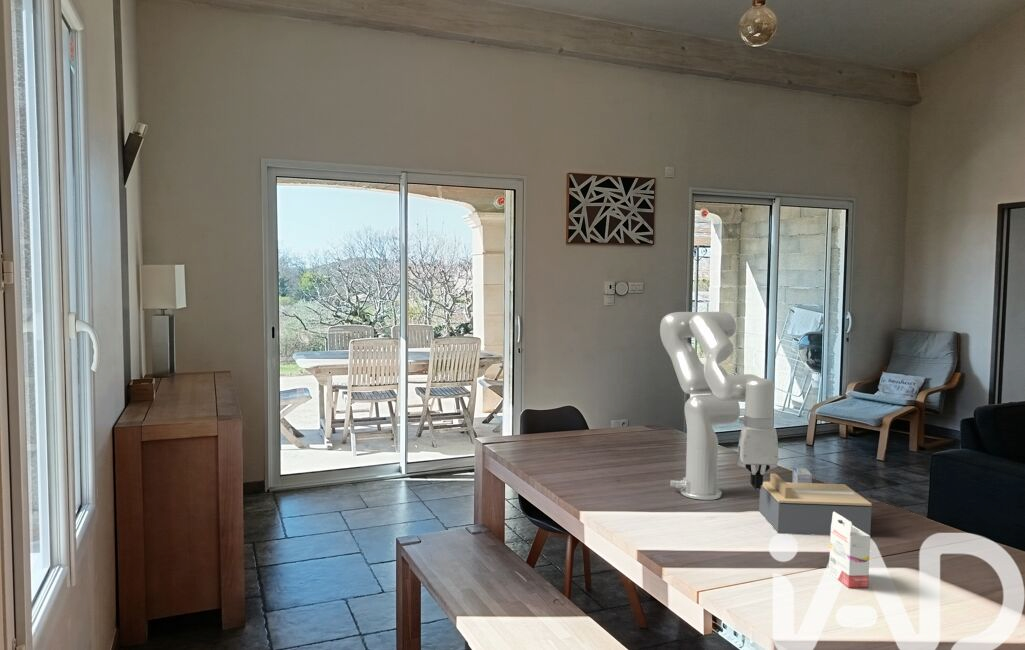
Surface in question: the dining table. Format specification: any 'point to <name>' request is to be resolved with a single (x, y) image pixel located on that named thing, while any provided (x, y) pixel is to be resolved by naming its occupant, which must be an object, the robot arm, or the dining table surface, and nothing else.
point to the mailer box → (810, 515)
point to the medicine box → (801, 476)
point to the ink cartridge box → (849, 553)
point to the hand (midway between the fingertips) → (756, 487)
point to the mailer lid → (812, 493)
